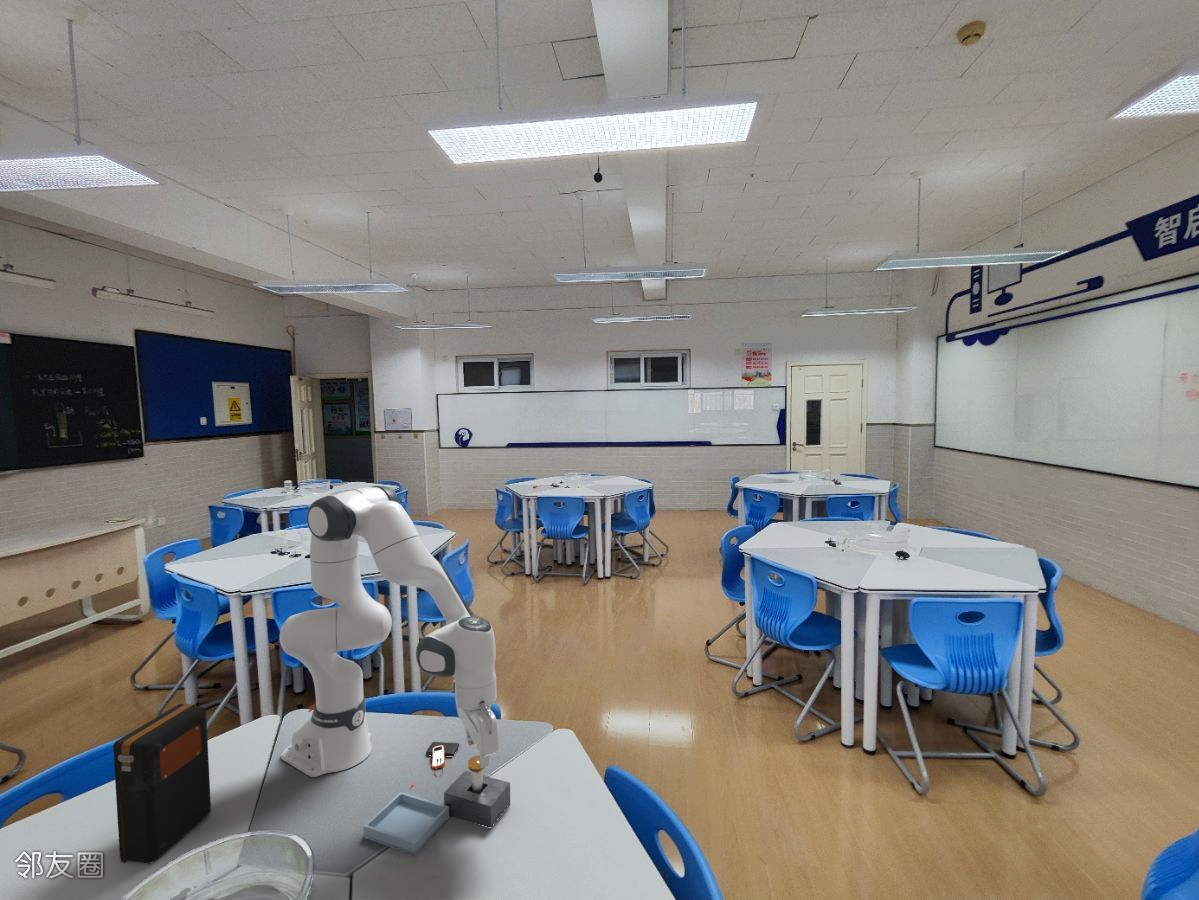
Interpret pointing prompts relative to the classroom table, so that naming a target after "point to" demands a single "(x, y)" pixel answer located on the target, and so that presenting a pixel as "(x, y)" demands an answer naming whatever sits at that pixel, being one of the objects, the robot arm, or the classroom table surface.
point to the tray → (406, 823)
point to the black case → (161, 782)
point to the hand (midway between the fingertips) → (477, 753)
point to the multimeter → (440, 753)
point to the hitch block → (477, 799)
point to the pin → (476, 774)
